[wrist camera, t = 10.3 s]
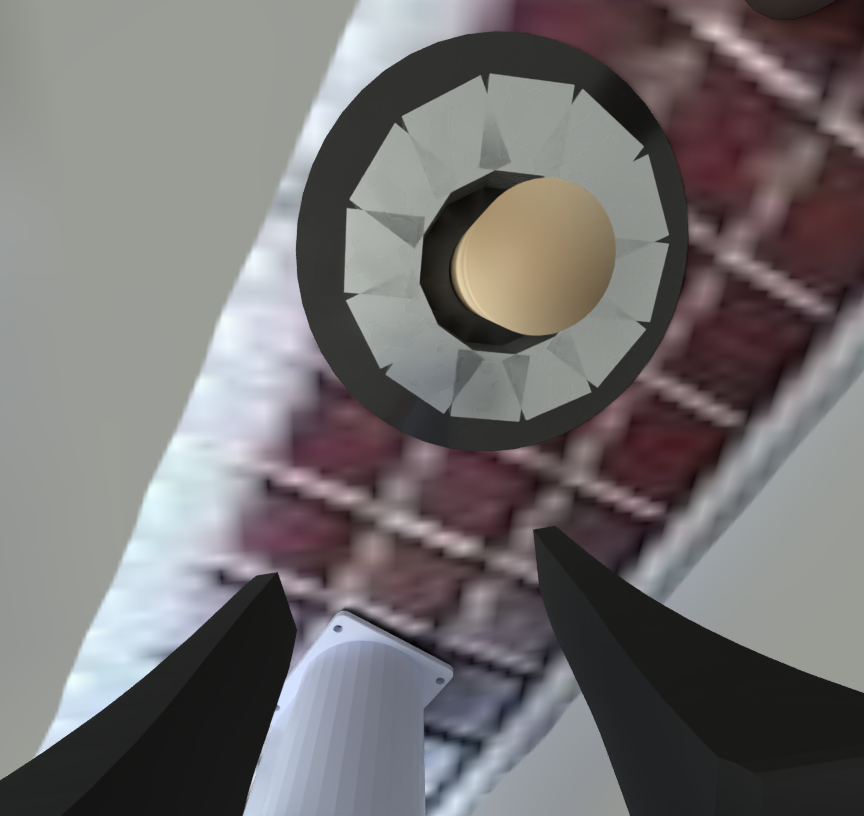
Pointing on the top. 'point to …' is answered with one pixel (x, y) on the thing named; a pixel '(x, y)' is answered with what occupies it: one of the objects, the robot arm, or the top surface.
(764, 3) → the coffee cup
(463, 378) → the rosette
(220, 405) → the top surface
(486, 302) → the peg
